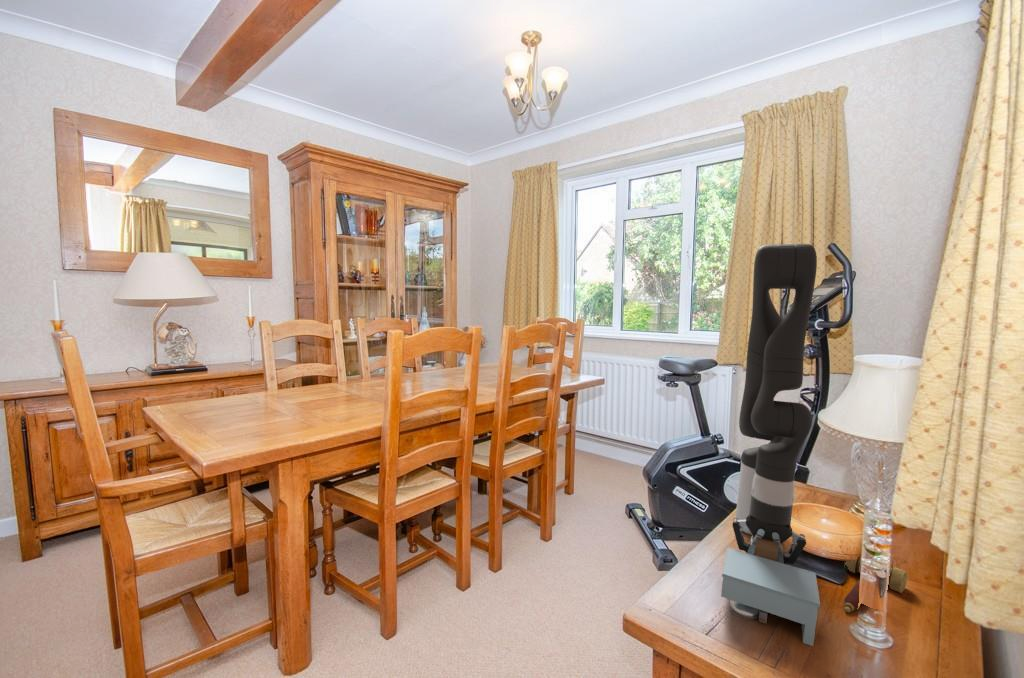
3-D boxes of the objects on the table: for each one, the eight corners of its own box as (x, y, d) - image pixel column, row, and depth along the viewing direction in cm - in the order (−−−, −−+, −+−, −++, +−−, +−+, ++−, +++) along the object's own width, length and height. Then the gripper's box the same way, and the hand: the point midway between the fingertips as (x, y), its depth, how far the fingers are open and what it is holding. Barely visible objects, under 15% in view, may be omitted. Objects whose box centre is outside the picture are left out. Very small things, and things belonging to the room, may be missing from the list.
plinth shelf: (723, 583, 96) (727, 547, 95) (810, 612, 89) (815, 572, 88) (718, 613, 87) (722, 573, 86) (814, 647, 80) (820, 604, 79)
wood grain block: (752, 573, 100) (756, 529, 99) (773, 579, 98) (778, 535, 97) (750, 618, 86) (755, 568, 85) (775, 626, 84) (781, 575, 83)
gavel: (880, 615, 85) (818, 586, 92) (877, 637, 85) (816, 606, 93) (908, 568, 98) (852, 546, 105) (906, 587, 98) (850, 564, 106)
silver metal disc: (731, 598, 92) (731, 592, 92) (759, 608, 89) (760, 601, 89) (728, 613, 88) (729, 606, 88) (757, 624, 85) (758, 617, 85)
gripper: (811, 498, 95) (801, 575, 97) (734, 481, 102) (727, 554, 104) (814, 513, 88) (804, 596, 90) (732, 494, 95) (724, 572, 97)
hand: (763, 573), depth 97 cm, fingers closed on wood grain block, 4 cm apart
